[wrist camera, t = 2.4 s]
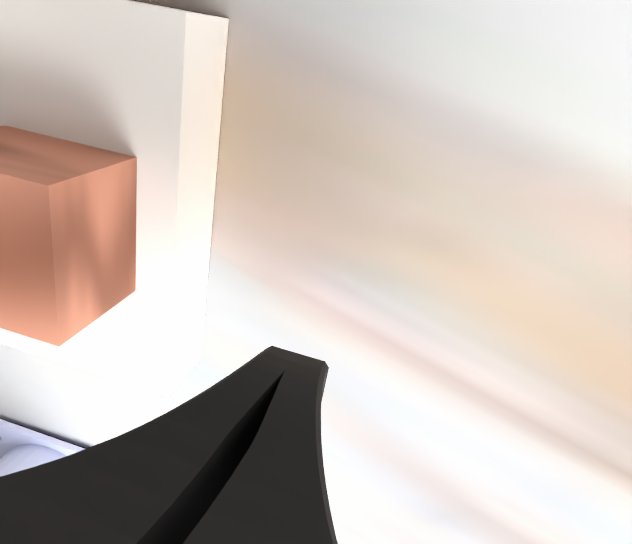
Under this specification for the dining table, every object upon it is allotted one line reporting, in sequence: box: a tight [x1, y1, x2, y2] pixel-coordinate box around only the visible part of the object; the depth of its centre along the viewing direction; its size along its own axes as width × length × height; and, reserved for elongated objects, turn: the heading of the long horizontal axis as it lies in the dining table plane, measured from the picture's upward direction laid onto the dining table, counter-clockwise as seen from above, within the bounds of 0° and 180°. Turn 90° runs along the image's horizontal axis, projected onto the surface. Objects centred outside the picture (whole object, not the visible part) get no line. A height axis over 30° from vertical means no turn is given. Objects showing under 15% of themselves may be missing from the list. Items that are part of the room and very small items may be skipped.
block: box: [0, 126, 137, 347], centre depth 16 cm, size 5×5×4 cm
